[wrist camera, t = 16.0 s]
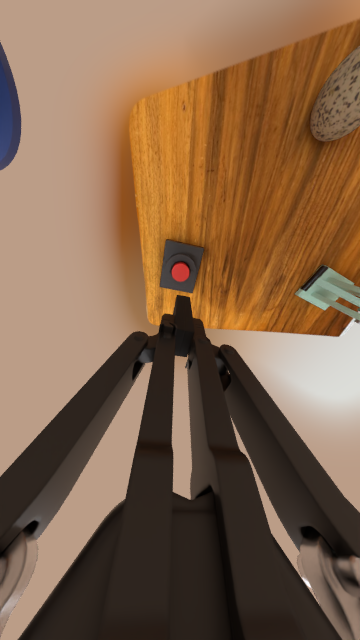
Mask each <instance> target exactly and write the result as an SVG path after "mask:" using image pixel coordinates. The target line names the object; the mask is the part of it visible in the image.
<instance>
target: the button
mask: <svg viewBox="0 0 360 640" xmlns="http://www.w3.org/2000/svg"><path fill="white" fill-rule="evenodd" d="M172 276H173V278H174V279H175V280H176V281H179V282H182V281H185V280H186V279H187V278H188V276H189V268H188V266H187V264H185V263H184V262H177V263H176V264H174V266H173V268H172Z"/></svg>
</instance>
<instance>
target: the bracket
mask: <svg viewBox="0 0 360 640" xmlns="http://www.w3.org/2000/svg"><path fill="white" fill-rule="evenodd" d="M324 266H325V265H324ZM320 267H321V266H320ZM320 267H319V268H320ZM319 268H318V269H319ZM328 268H329V267H328ZM318 269H317V270H318ZM317 270H316V271H317ZM316 271H315V272H316ZM320 278H321V279H323V280H325V281H327V282H329V283H331V284H333V285H335V286H336V287H338V288H340V289H342V290H344V291H346V292H349V293H351V294H354V295H356V296H359V297H360V287H357V286H354V283H353V282H351V281H349V280H348V279H346V278H345V277H343V276H342V275H340V274H338V273H337V272H335V271H334V270H332V269H330V268H329V269H328V270H327V271H326V272H325V273H324V274H323V275H322V276H321V277H320ZM306 282H307V281H306ZM306 282H305V283H306ZM305 283H304V284H305ZM304 284H303V285H304ZM303 285H302V286H303ZM295 295H297V296H299V297H301V298H303V299H305V300H306V301H308V302H310V303H312V304H314V305H316V306H318V307H320V308H321V309H323V310H326V309H327V308H328V307H329V306H332V307H334V308H336V309H338V310H340V311H341V312H343V313H345V314H347V315H349V316H351V317H353V318H355V319H356V320H355V322H357V323H358V324H360V313H357V312H355V311H353V310H351V309H349V308H347V307H345V306H343V305H341V304H339V303H337V302H335V301H336V300H337V299H338V298H339V296H337V295H336V294H334V293H332V292H330V291H328V290H326V289H324V288H322V287H320V286H319V285H317V284H315V283H314V284H313V285H312V286H311V287H310V288H309V289H308V290H307V291H306V292H305V291H304V290H302V289H299V290H298V291H297V292H296V293H295Z"/></svg>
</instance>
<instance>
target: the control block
mask: <svg viewBox="0 0 360 640" xmlns="http://www.w3.org/2000/svg"><path fill="white" fill-rule="evenodd" d="M203 251H204V248H203V247H199V246H194V245H190V244H186V243H181V242H177V241H173V240H168V239H167V240H166V243H165V251H164V258H163V266H162V273H161V281H160V287H163V288H168V289H173V290H178V291H183V292H189V293H193V289H194V286H195V282H196V278H197V274H198V270H199V267H200V263H201V259H202V255H203ZM177 262H184V263H185V264H187V266H188V268H189V276H188V278H187V279H186V280H185V281H182V282H179V281H176V280H175V279H174V278H173V276H172V268H173V266H174V264H176V263H177Z"/></svg>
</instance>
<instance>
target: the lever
mask: <svg viewBox="0 0 360 640" xmlns="http://www.w3.org/2000/svg"><path fill="white" fill-rule="evenodd" d="M328 269H329V268H328V267H327V266H324V265H321V267H320V268H319V269H318V270H317V271H316V272H315V273H314V274H313V275H312V276H311V277H310V278H309V279H308V280H307V282H306V283H305V284H304V285H303V286H302V287H301V288H300V289H302V290H304V291H305V292H306V291H307V290H308V289H309V288H310V287H311V286H312V285H313V284H314V283H315V284H317V285H319V286H320V287H322V288H324V289H326V290H328V291H330V292H332V293H334V294H336V295H337V296H339V297H341V298H343V299H345V300H347V301H349V302H351V303H352V304H354V305H356V306H358V307H360V299H359V298H357V297H355V296H354V295H352V294H350V293H348V292H346V291H344V290H342V289H340V288H338V287H336V286H335V285H333V284H331V283H329V282H327V281H325V280H323V279H321V278H320V277H321V276H322V275H323V274H324V273H325V272H326V271H327V270H328ZM357 310H358V311H360V308H359V309H357Z"/></svg>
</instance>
